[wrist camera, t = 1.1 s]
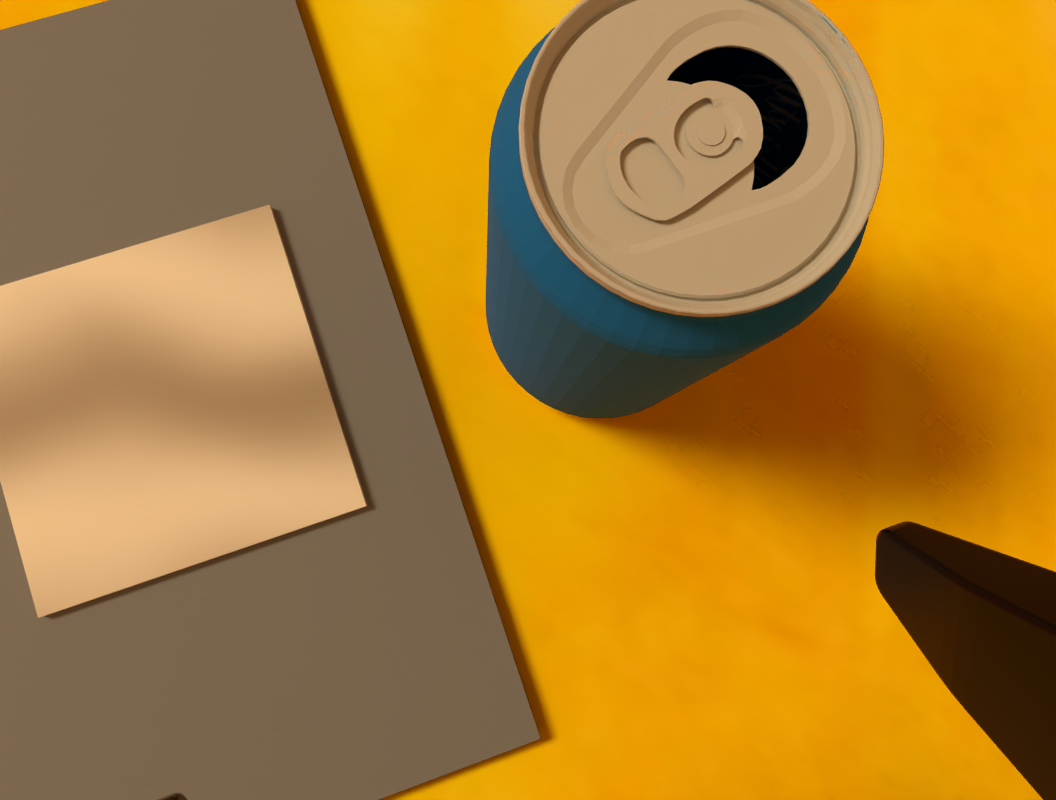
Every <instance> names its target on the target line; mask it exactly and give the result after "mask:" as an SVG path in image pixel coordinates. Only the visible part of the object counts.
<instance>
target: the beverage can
mask: <svg viewBox="0 0 1056 800" xmlns="http://www.w3.org/2000/svg"><path fill="white" fill-rule="evenodd" d="M883 157H884V135H883V125H882V117H881V113H880V108H879V104H878V100H877V96H876V93H875V90H874V88H873V85H872V82H871V80H870V77H869V75H868V73H867V71H866V69H865V67H864V65H863V63H862V61H861V59H860V57H859V55H858V54H857V52H856V51H855V49H854V48H853V47H852V45H851V44H850V42H849V41H848V39H847V38H846V37H845V35H844V34H843V33H842V32H841V31H840V30H839V29H838V27H837V26H836V25H835V24H834V23H833V22H832V21H831V20H830V18H828V17H827V16H826V15H825V14H824V13H823V12H822V11H820V10H819V9H818V8H817V7H816V6H815V5H814V4H812V3H811V2H810V1H808V0H582V1H581V2H580V3H578V4H577V5H576V6H575V7H574V8H573V9H572V10H571V11H570V12H569V13H568V14H567V15H566V16H565V17H564V18H563V19H562V20H561V21H560V22H559V23H558V25H557V26H556V27H555V28H553V29H552V30H551V31H550V32H549V33H548V34H547V35H546V36H545V37H544V38H543V39H542V40H541V41H540V42H539V43H538V44H537V45H536V46H535V47H534V48H533V49H532V51H531V52H530V53H529V55H528V56H527V57H526V58H525V60H524V61H523V62H522V64H521V65H520V66H519V68H518V70H517V71H516V73H515V75H514V77H513V78H512V80H511V82H510V84H509V86H508V87H507V89H506V91H505V94H504V96H503V99H502V102H501V104H500V107H499V109H498V112H497V116H496V120H495V124H494V128H493V132H492V137H491V147H490V158H489V192H488V233H487V275H486V317H487V323H488V329H489V333H490V336H491V339H492V343H493V346H494V348H495V350H496V352H497V354H498V356H499V358H500V360H501V362H502V363H503V365H504V366H505V368H506V369H507V371H508V372H509V373H510V375H511V376H512V377H513V378H514V379H515V381H516V382H517V383H518V384H519V385H520V386H521V387H523V388H524V389H525V390H526V391H527V392H528V393H529V394H531V395H532V396H534V397H535V398H536V399H538V400H539V401H541V402H543V403H545V404H546V405H548V406H550V407H552V408H554V409H557V410H560V411H562V412H565V413H568V414H572V415H577V416H581V417H589V418H613V417H619V416H625V415H629V414H632V413H635V412H639V411H641V410H644V409H646V408H648V407H650V406H652V405H654V404H656V403H658V402H660V401H662V400H664V399H665V398H667V397H669V396H671V395H673V394H675V393H676V392H678V391H680V390H682V389H684V388H686V387H687V386H689V385H691V384H693V383H695V382H697V381H699V380H700V379H702V378H704V377H706V376H708V375H710V374H711V373H713V372H715V371H717V370H719V369H721V368H722V367H724V366H726V365H728V364H730V363H732V362H733V361H735V360H737V359H739V358H741V357H743V356H745V355H746V354H748V353H750V352H752V351H754V350H756V349H757V348H759V347H761V346H763V345H765V344H767V343H768V342H770V341H772V340H774V339H776V338H778V337H779V336H781V335H783V334H784V333H786V332H787V331H789V330H790V329H792V328H794V327H795V326H797V325H798V324H800V323H801V322H802V321H803V320H805V319H806V318H807V317H808V316H809V315H810V314H812V313H813V312H814V311H815V310H816V309H817V308H819V307H820V306H821V304H822V303H823V302H824V301H825V300H826V299H827V298H828V296H829V295H830V294H831V293H832V292H833V291H834V290H835V288H836V287H837V285H838V284H839V282H840V281H841V279H842V278H843V276H844V275H845V273H846V272H847V270H848V269H849V267H850V265H851V263H852V261H853V259H854V257H855V255H856V253H857V251H858V248H859V246H860V244H861V241H862V238H863V235H864V232H865V229H866V225H867V222H868V217H869V214H870V212H871V210H872V208H873V205H874V202H875V198H876V195H877V192H878V189H879V185H880V180H881V174H882V168H883Z"/></svg>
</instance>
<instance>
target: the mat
mask: <svg viewBox="0 0 1056 800" xmlns="http://www.w3.org/2000/svg"><path fill="white" fill-rule="evenodd" d="M539 739H540V735H539V731H538V728H537V725H536V722H535V719H534V716H533V713H532V710H531V707H530V704H529V701H528V698H527V695H526V692H525V689H524V686H523V683H522V680H521V677H520V674H519V671H518V668H517V665H516V662H515V659H514V656H513V653H512V650H511V647H510V644H509V641H508V638H507V635H506V632H505V629H504V626H503V623H502V620H501V617H500V614H499V611H498V608H497V605H496V602H495V599H494V596H493V593H492V590H491V587H490V584H489V581H488V578H487V575H486V572H485V569H484V566H483V563H482V560H481V557H480V554H479V551H478V548H477V545H476V542H475V539H474V536H473V533H472V530H471V527H470V524H469V521H468V518H467V515H466V512H465V509H464V506H463V503H462V500H461V497H460V494H459V491H458V488H457V485H456V482H455V479H454V476H453V473H452V470H451V466H450V463H449V460H448V457H447V454H446V451H445V448H444V445H443V442H442V439H441V436H440V433H439V430H438V427H437V424H436V421H435V418H434V415H433V412H432V409H431V406H430V403H429V400H428V397H427V394H426V391H425V388H424V385H423V382H422V379H421V376H420V373H419V370H418V367H417V364H416V361H415V358H414V355H413V352H412V349H411V346H410V343H409V340H408V337H407V334H406V331H405V328H404V325H403V322H402V319H401V316H400V313H399V310H398V307H397V304H396V301H395V298H394V295H393V292H392V289H391V286H390V283H389V280H388V277H387V274H386V271H385V268H384V265H383V262H382V259H381V256H380V253H379V250H378V247H377V244H376V241H375V238H374V235H373V232H372V229H371V226H370V223H369V220H368V217H367V214H366V211H365V208H364V205H363V202H362V199H361V196H360V193H359V190H358V187H357V184H356V181H355V178H354V175H353V172H352V169H351V166H350V163H349V160H348V157H347V154H346V151H345V148H344V145H343V142H342V138H341V135H340V132H339V129H338V126H337V123H336V120H335V117H334V114H333V111H332V108H331V105H330V102H329V99H328V96H327V93H326V90H325V87H324V84H323V81H322V78H321V75H320V72H319V69H318V66H317V63H316V60H315V57H314V54H313V51H312V48H311V45H310V42H309V39H308V36H307V33H306V30H305V27H304V24H303V21H302V18H301V15H300V12H299V9H298V6H297V3H296V0H109V1H105V2H101V3H98V4H94V5H90V6H87V7H83V8H79V9H76V10H72V11H68V12H65V13H61V14H57V15H54V16H50V17H46V18H43V19H39V20H36V21H32V22H28V23H25V24H21V25H17V26H14V27H10V28H6V29H3V30H0V800H156V799H159V798H162V797H164V796H167V795H170V794H172V793H181V794H183V795H184V796H185V797H186V798H187V800H379V799H382V798H384V797H387V796H390V795H392V794H395V793H398V792H400V791H403V790H406V789H408V788H411V787H414V786H416V785H419V784H422V783H424V782H427V781H430V780H432V779H435V778H437V777H440V776H443V775H445V774H448V773H451V772H453V771H456V770H459V769H461V768H464V767H467V766H469V765H472V764H475V763H477V762H480V761H483V760H485V759H488V758H491V757H493V756H496V755H499V754H501V753H504V752H507V751H509V750H512V749H515V748H517V747H520V746H523V745H525V744H528V743H531V742H533V741H536V740H539Z"/></svg>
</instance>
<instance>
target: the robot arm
mask: <svg viewBox="0 0 1056 800" xmlns="http://www.w3.org/2000/svg"><path fill="white" fill-rule="evenodd" d="M875 579H876V584H877V586H878V589H879V591H880V593H881V594H882V596H883V598H884V599H885V600H886V602H887V603H888V605H889V606H890V607H891V609H892V610H893V612H894V613H895V615H896V616H897V617H898V619H899V620H900V622H901V623H902V625H903V626H904V627H905V629H906V630H907V632H908V633H909V634H910V636H911V637H912V639H913V640H914V642H915V643H916V644H917V646H918V647H919V649H920V650H921V652H922V653H923V654H924V656H925V657H926V659H927V660H928V661H929V663H930V664H931V666H932V667H933V669H934V670H935V671H936V673H937V674H938V676H939V677H940V678H941V680H942V681H943V682H944V684H945V685H946V686H947V688H948V689H949V690H950V692H951V693H952V694H953V695H954V697H955V698H956V699H957V700H958V701H959V703H960V704H961V705H962V706H963V707H964V709H965V710H966V711H967V712H968V713H969V714H970V716H971V717H972V718H973V719H974V720H975V721H976V722H977V724H978V725H979V726H980V727H981V728H982V729H983V731H984V732H985V733H986V734H987V735H988V736H989V738H990V739H991V740H992V741H993V742H994V743H995V744H996V746H997V747H998V748H999V749H1000V750H1001V751H1002V753H1003V754H1004V755H1005V756H1006V757H1007V758H1008V759H1009V761H1010V762H1011V763H1012V764H1013V765H1014V766H1015V768H1016V769H1017V770H1018V771H1019V772H1020V773H1021V774H1022V776H1023V777H1024V778H1025V779H1026V780H1027V781H1028V783H1029V784H1030V785H1031V786H1032V787H1033V788H1034V790H1035V791H1036V792H1037V793H1038V794H1039V795H1040V796H1041V798H1042V799H1043V800H1056V572H1054V571H1051V570H1048V569H1046V568H1043V567H1040V566H1037V565H1034V564H1031V563H1028V562H1026V561H1023V560H1020V559H1017V558H1014V557H1011V556H1008V555H1006V554H1003V553H1000V552H997V551H994V550H991V549H988V548H986V547H983V546H980V545H977V544H974V543H971V542H968V541H965V540H963V539H960V538H957V537H954V536H951V535H948V534H945V533H943V532H940V531H937V530H934V529H931V528H928V527H925V526H923V525H920V524H917V523H913V522H908V521H907V522H901V523H899V524H896V525H893V526H890V527H888V528H885V529H883V530H881V531H880V532H879V533H878V535H877V539H876V561H875ZM156 800H187V798H186V797H185V796H184V795H183V794H181V793H172V794H170V795H167V796H164V797H162V798H159V799H156Z"/></svg>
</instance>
